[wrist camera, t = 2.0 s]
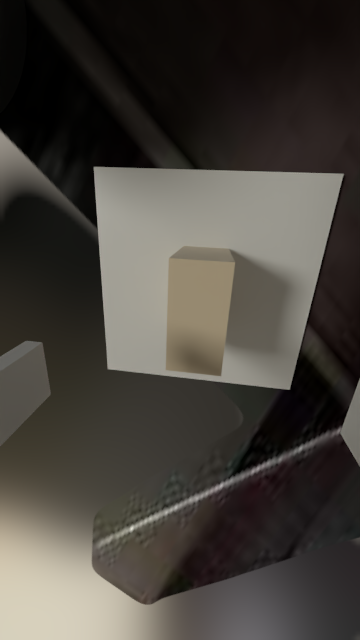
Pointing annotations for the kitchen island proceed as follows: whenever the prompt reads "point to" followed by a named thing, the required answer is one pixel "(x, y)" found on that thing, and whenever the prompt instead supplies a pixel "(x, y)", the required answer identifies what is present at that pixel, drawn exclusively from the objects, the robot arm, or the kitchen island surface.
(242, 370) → the lid
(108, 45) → the kitchen island surface
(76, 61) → the kitchen island surface
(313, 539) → the kitchen island surface
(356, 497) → the kitchen island surface
